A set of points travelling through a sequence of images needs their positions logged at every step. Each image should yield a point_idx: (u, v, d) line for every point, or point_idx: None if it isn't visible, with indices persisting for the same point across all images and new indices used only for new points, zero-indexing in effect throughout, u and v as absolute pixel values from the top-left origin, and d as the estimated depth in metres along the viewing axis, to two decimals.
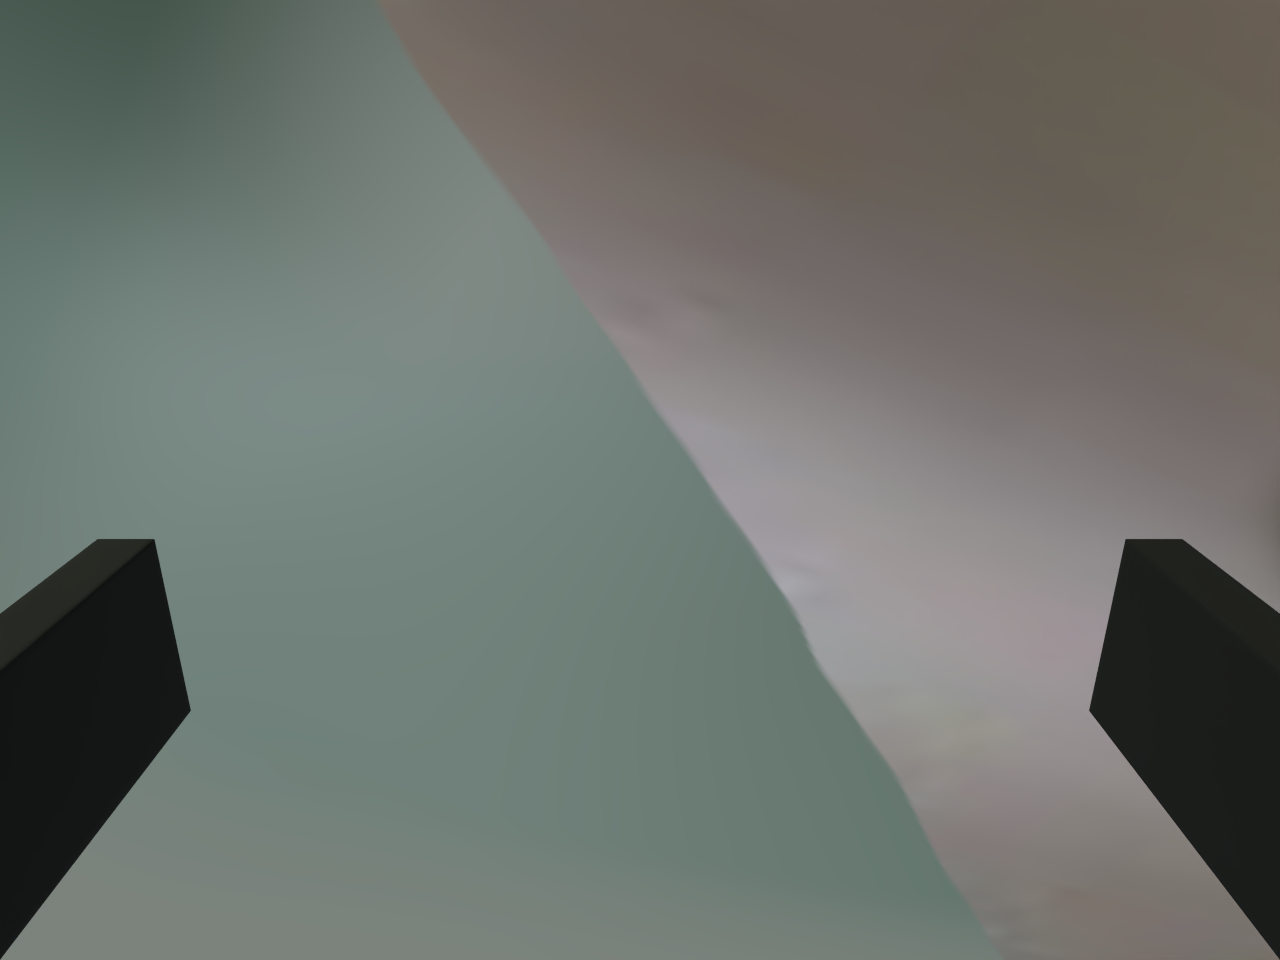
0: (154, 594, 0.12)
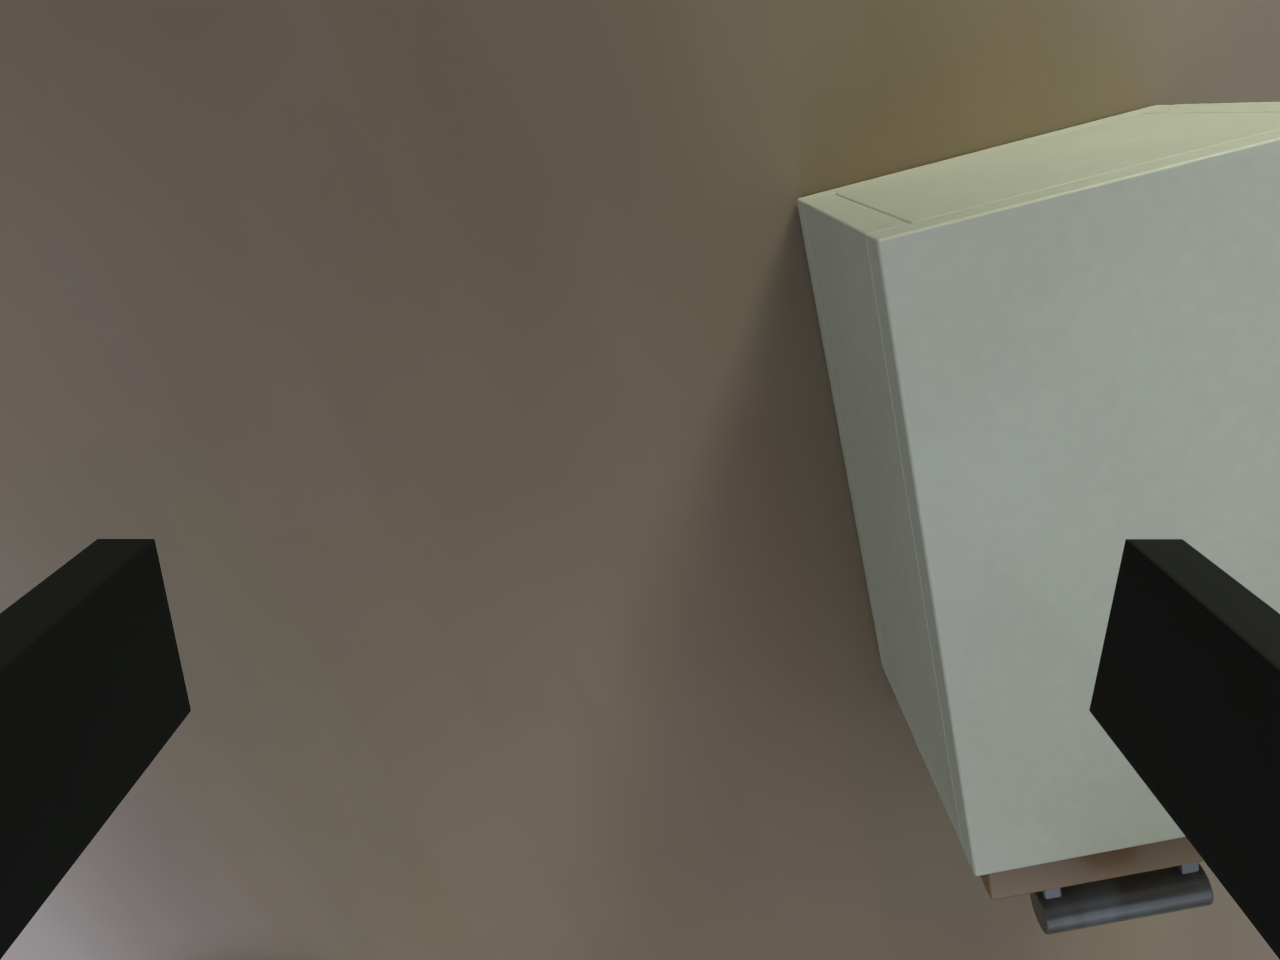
0: (154, 594, 0.12)
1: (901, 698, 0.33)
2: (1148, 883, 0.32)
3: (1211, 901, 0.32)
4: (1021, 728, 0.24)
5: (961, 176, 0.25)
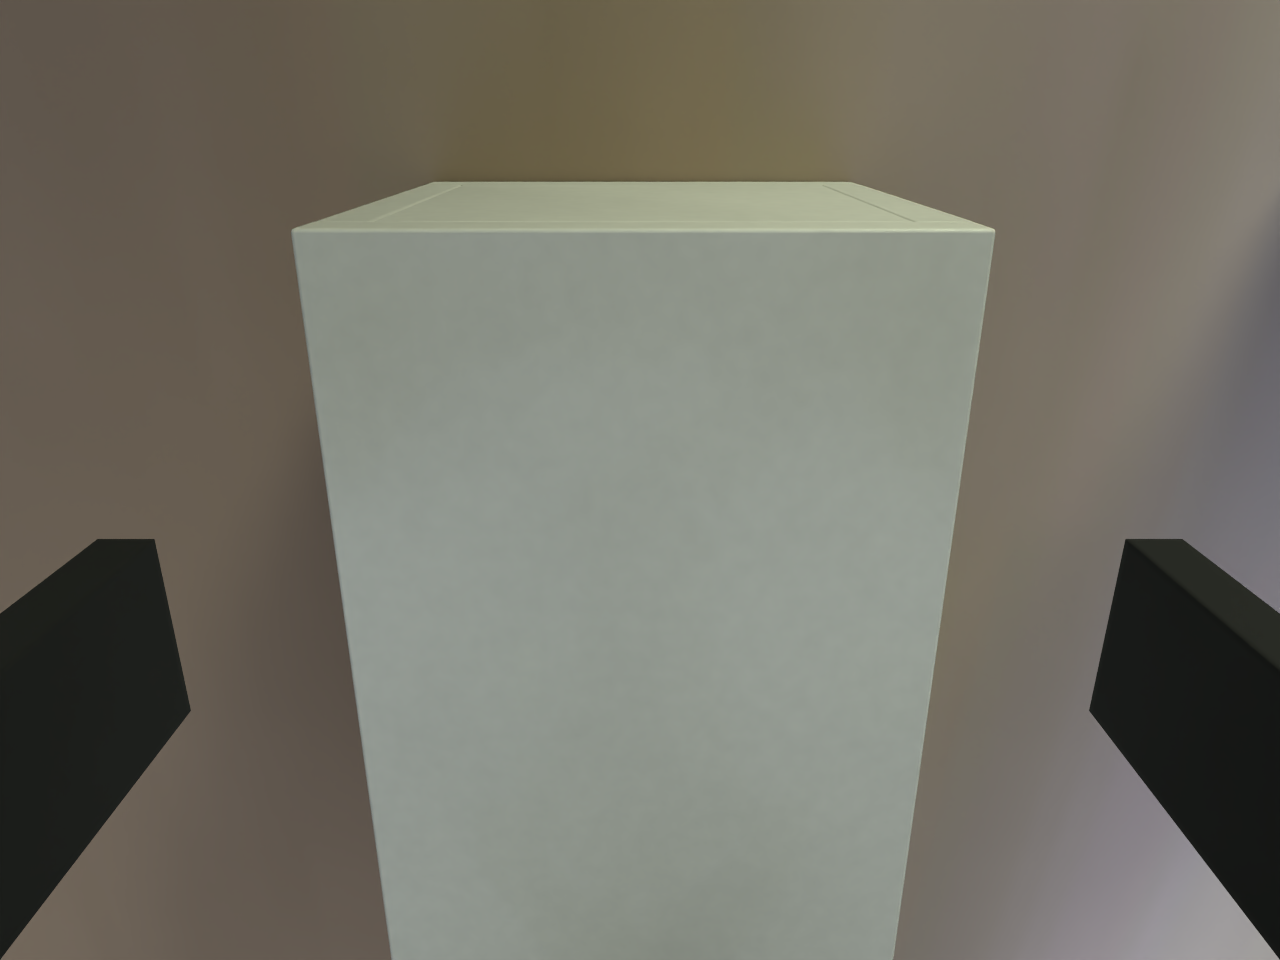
0: (154, 594, 0.12)
1: None
2: None
3: None
4: (459, 868, 0.20)
5: (557, 196, 0.21)
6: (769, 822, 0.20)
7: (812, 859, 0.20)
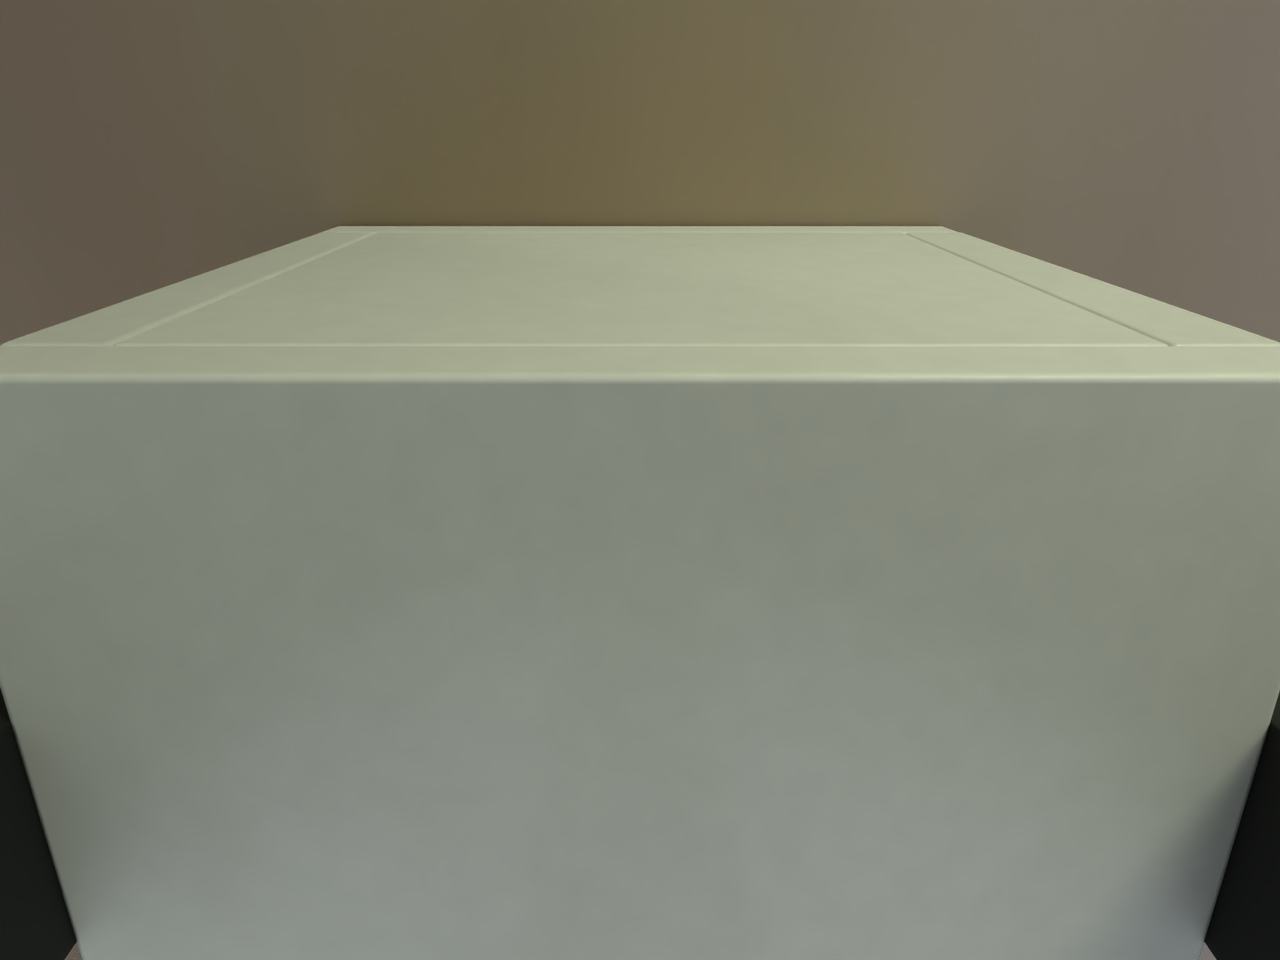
0: None
1: None
2: None
3: None
4: None
5: (504, 261, 0.13)
6: None
7: None
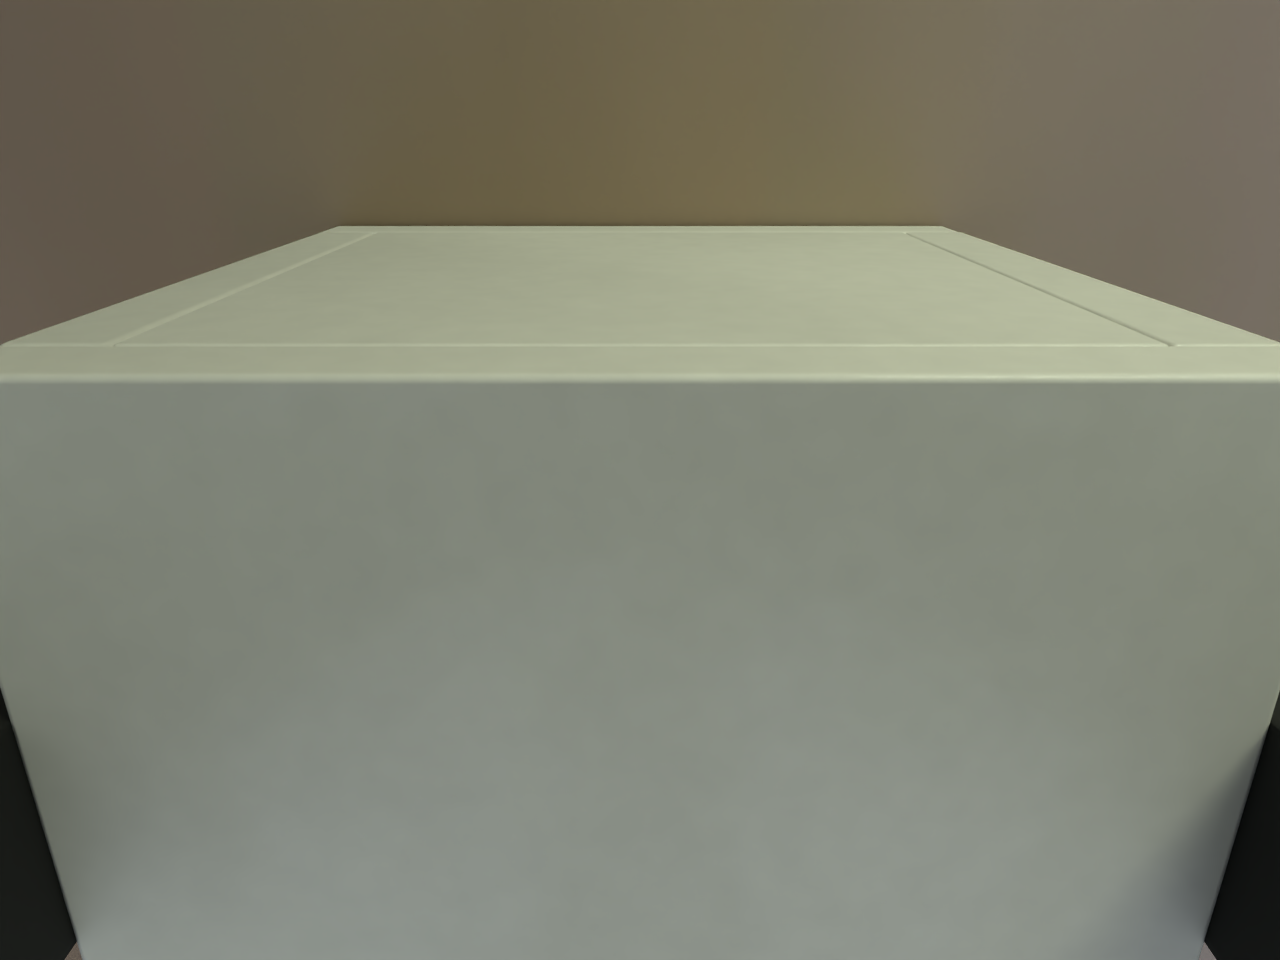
0: None
1: None
2: None
3: None
4: None
5: (503, 261, 0.13)
6: None
7: None
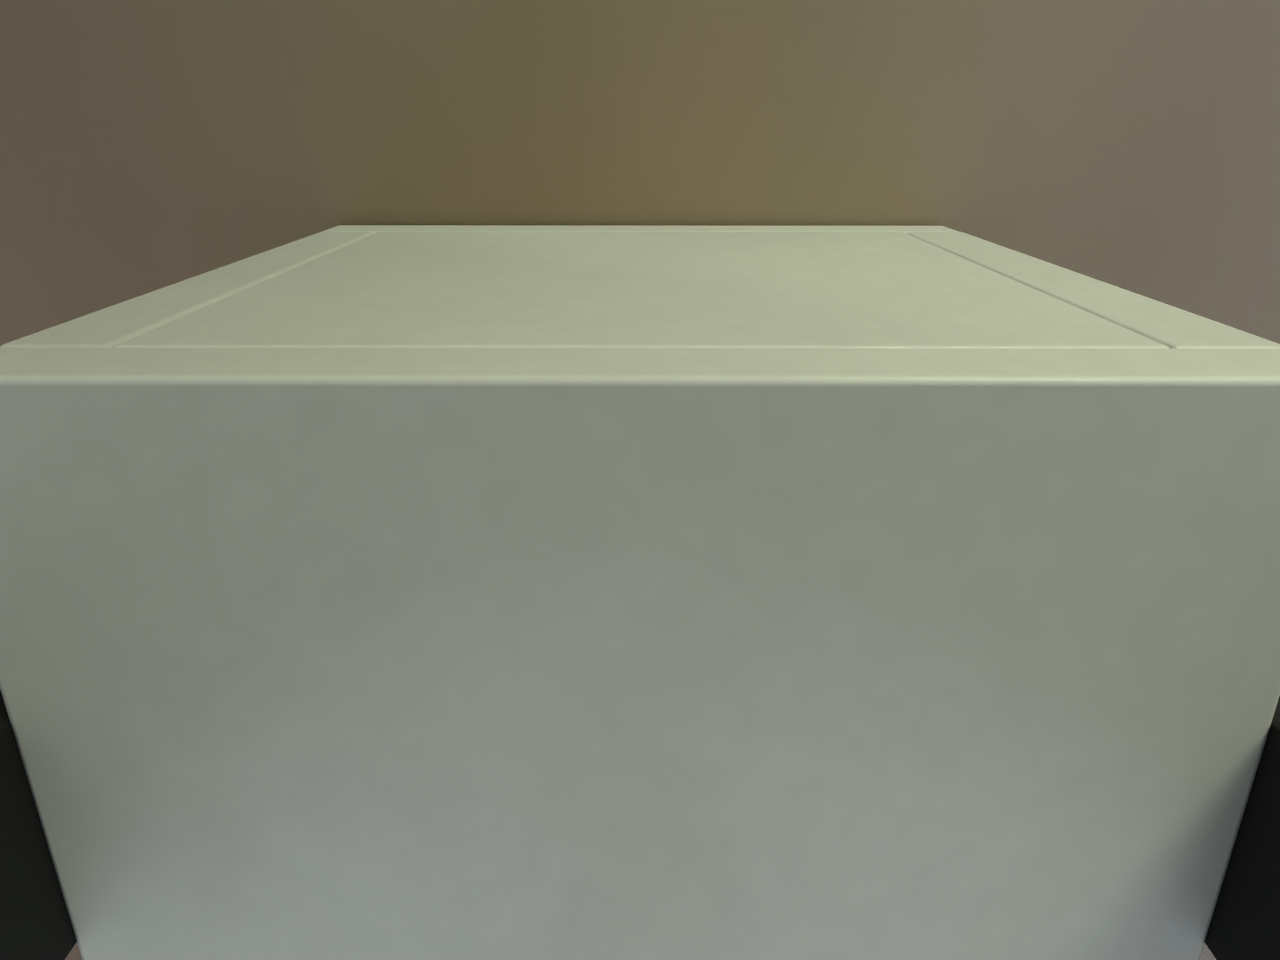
0: None
1: None
2: None
3: None
4: None
5: (504, 261, 0.13)
6: None
7: None
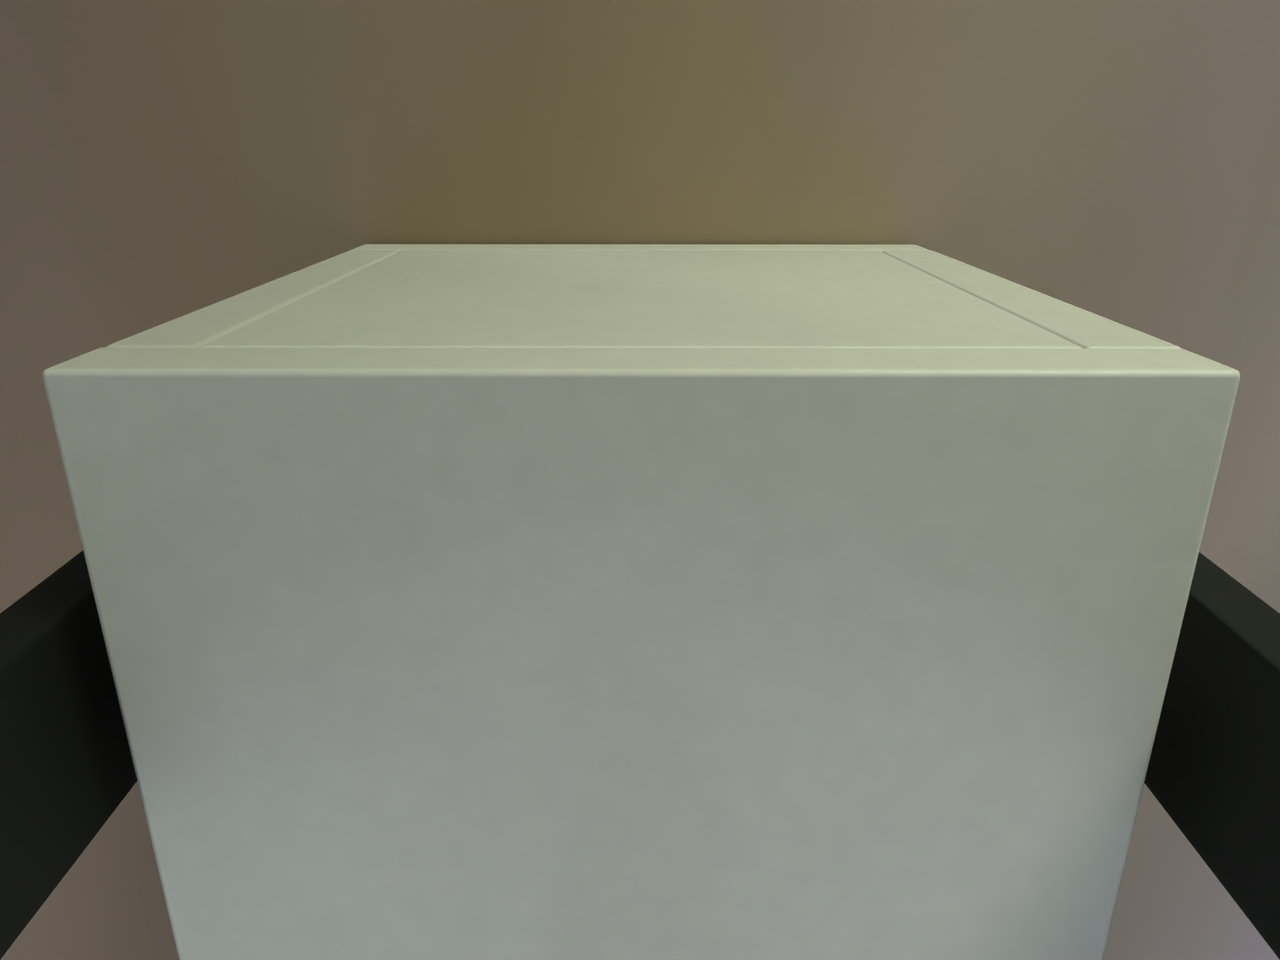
0: None
1: None
2: None
3: None
4: None
5: (519, 276, 0.15)
6: None
7: None
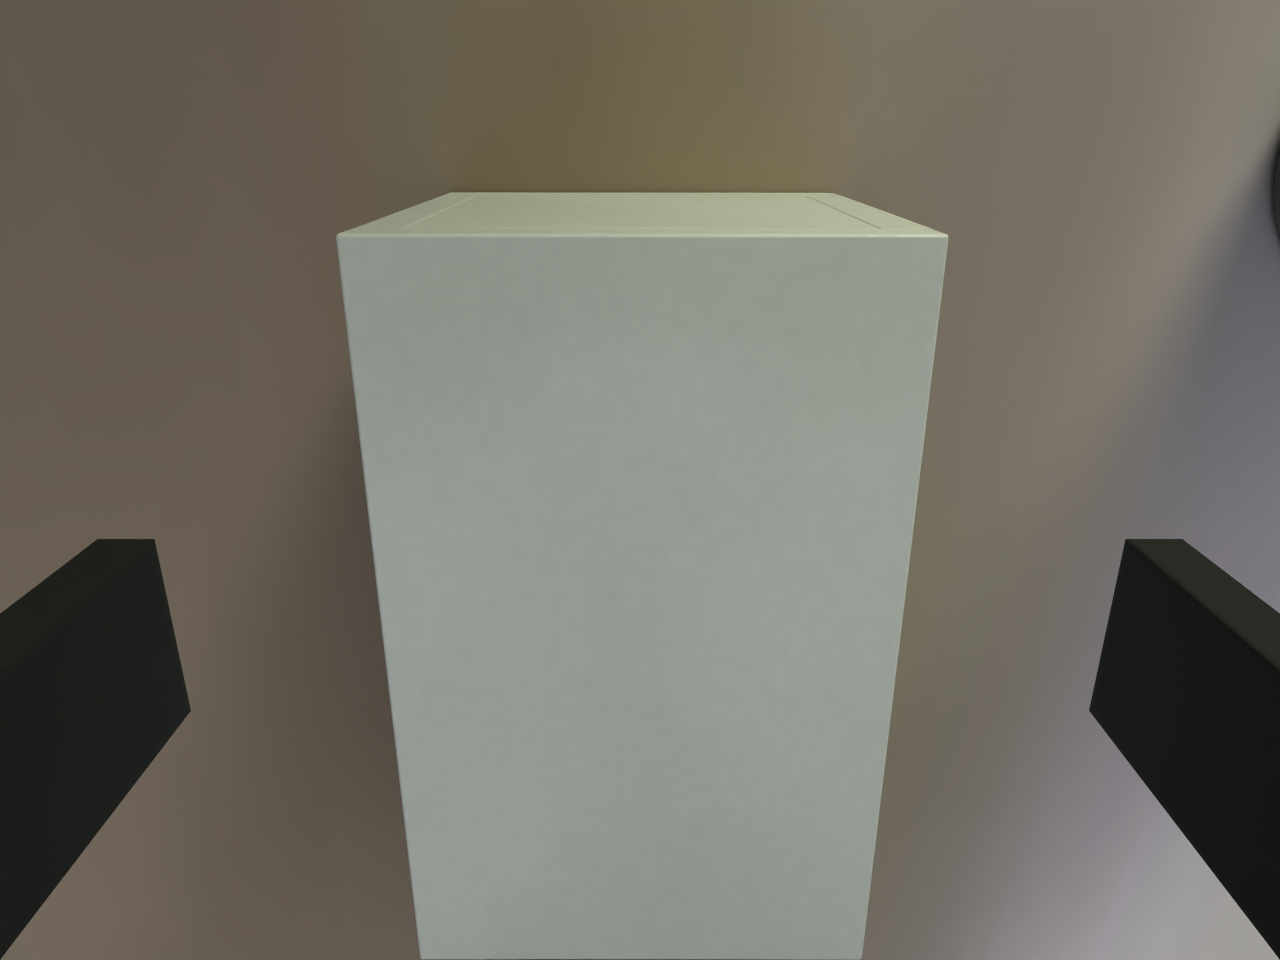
0: (153, 594, 0.12)
1: None
2: None
3: None
4: (476, 811, 0.22)
5: (564, 205, 0.23)
6: (755, 768, 0.22)
7: (795, 803, 0.22)
